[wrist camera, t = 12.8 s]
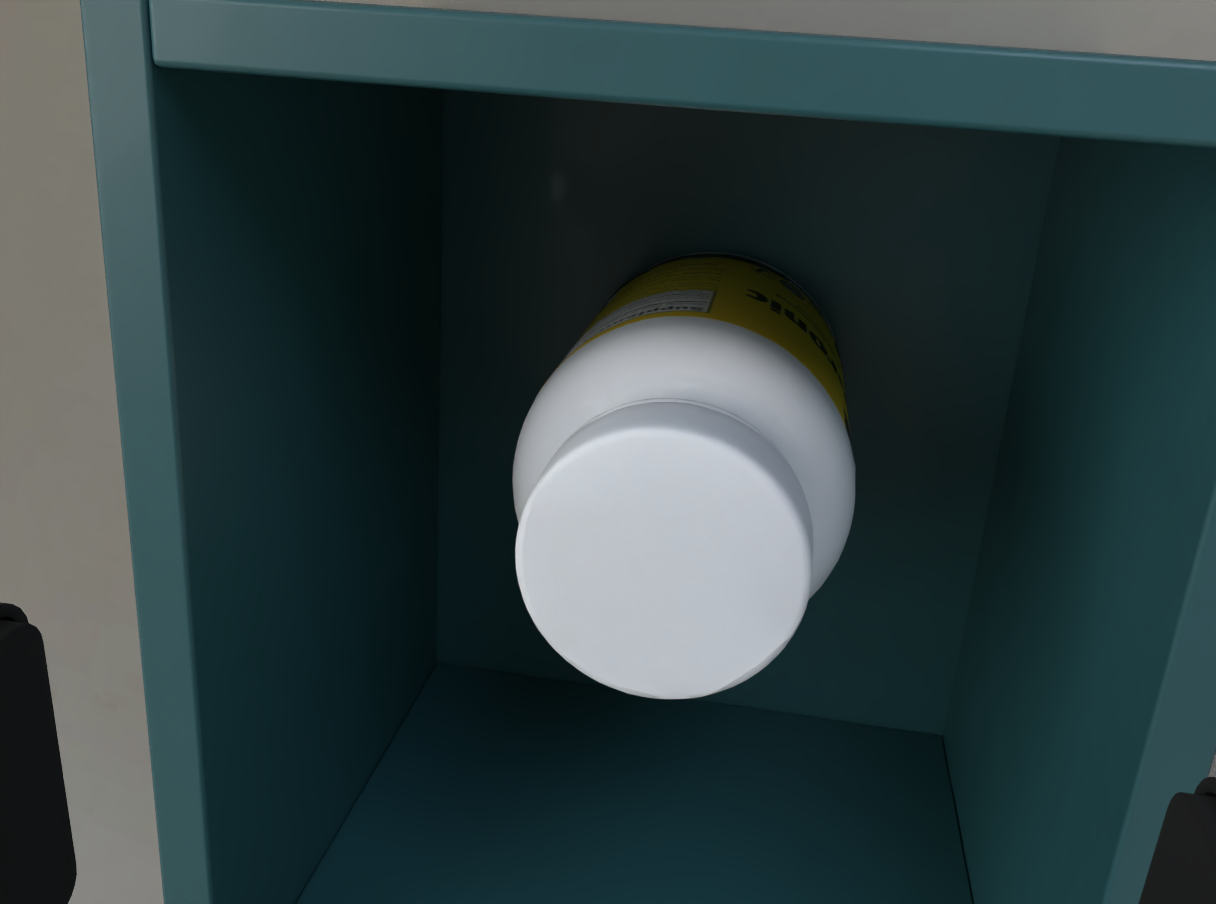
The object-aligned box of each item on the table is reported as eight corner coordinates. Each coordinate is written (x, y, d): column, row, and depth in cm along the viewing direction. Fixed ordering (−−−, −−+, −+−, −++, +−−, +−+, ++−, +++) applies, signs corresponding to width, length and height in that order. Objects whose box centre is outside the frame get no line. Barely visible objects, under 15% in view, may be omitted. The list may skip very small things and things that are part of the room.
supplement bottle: (876, 451, 24) (917, 702, 15) (637, 519, 26) (544, 786, 17) (798, 206, 23) (790, 322, 14) (550, 293, 24) (394, 448, 15)
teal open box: (418, 7, 23) (76, -15, 12) (1111, 54, 22) (1420, 76, 11) (416, 668, 29) (176, 1054, 18) (968, 748, 27) (1074, 1232, 16)
